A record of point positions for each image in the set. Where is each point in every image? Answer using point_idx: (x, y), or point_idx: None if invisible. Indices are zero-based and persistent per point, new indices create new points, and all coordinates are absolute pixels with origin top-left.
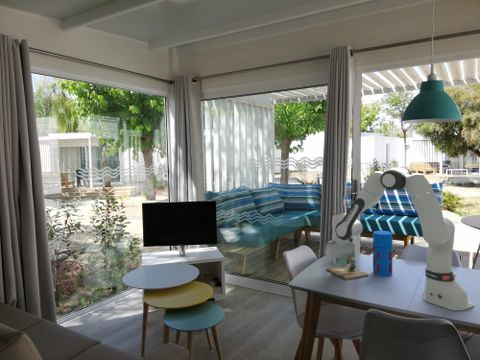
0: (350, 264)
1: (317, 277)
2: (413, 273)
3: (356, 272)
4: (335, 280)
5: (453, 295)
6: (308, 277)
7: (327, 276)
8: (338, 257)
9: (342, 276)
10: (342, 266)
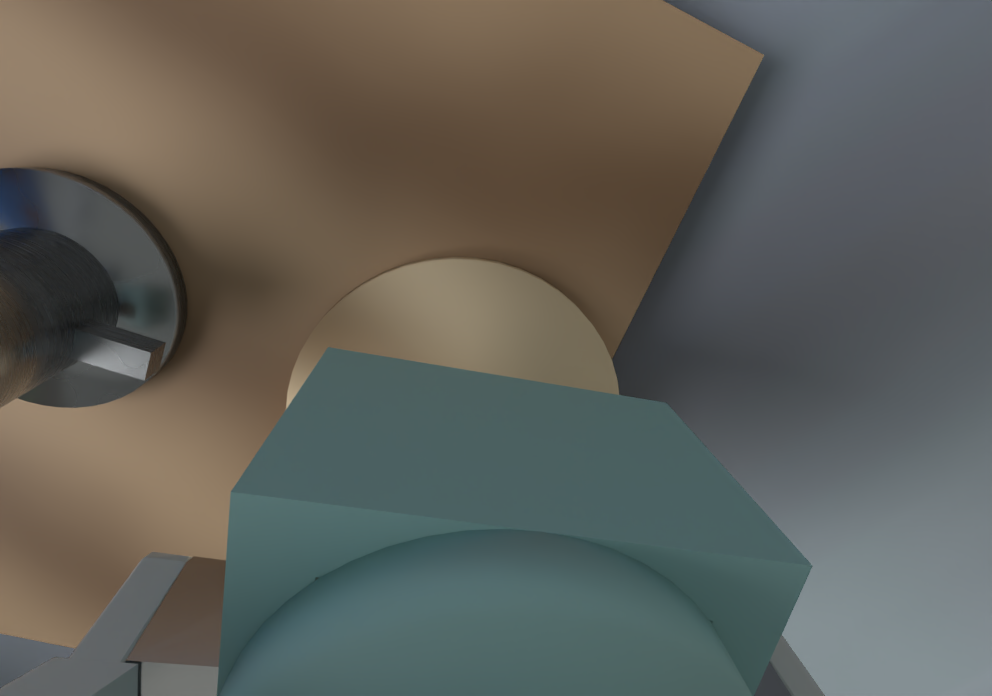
0: (10, 384)
1: (886, 553)
2: None
3: (140, 81)
4: (882, 232)
5: None
6: (953, 634)
7: (744, 477)
8: None
9: (686, 204)
10: (553, 389)
